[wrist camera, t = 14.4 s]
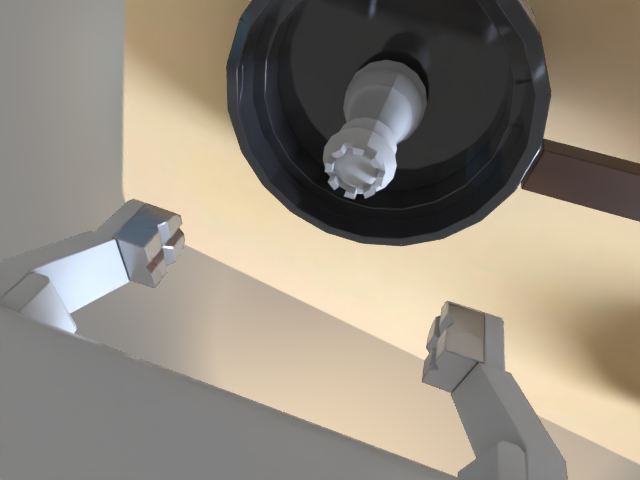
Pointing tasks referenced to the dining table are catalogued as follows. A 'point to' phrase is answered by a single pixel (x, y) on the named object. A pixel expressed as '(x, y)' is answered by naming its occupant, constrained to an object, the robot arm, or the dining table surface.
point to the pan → (434, 130)
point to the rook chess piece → (374, 127)
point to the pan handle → (585, 179)
